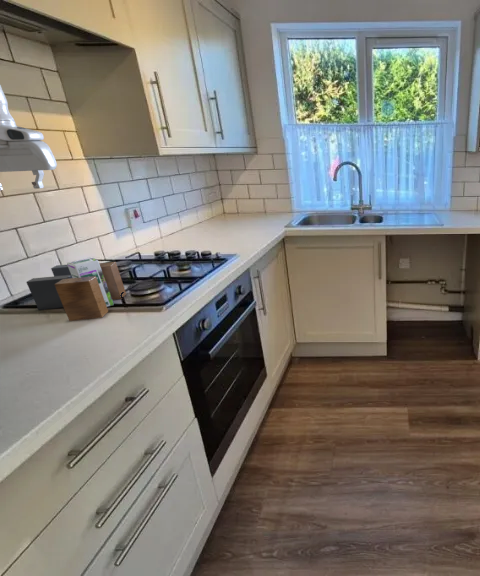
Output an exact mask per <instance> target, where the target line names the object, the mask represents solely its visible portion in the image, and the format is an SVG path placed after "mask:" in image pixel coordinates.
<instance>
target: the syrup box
mask: <svg viewBox="0 0 480 576" xmlns="http://www.w3.org/2000/svg"><path fill="white" fill-rule="evenodd" d="M99 263H100V262H99V260H98V259H97V258H95V257H91V256H89V257H86V258H83V259H78V260H74V261H69V262H66V265H68V268H69V270H70V273H71V275H72V278H81V277H91V276H96V278H97V281H98V283H99V286H100V289H101V292H102V295H103V297H104V300H105V303H106V306H107V308H109V307H111V306H114V300H112V298H111V295H110V293H109V290H108V287H107V284H106V281H105V278H104V276H103V273H102V270H101V267H100V264H99Z"/></svg>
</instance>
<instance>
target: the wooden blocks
mask: <svg viewBox="0 0 480 576" xmlns="http://www.w3.org/2000/svg"><path fill="white" fill-rule="evenodd" d="M99 264H100V267H101V270H102V273H103V276H104V278H105V281H106V284H107V287H108V290H109V293H110V295H111V298H112V301H115V300H122V299H123V298H124V297H125V296H126V295H127V292H126V289H125V286H124V283H123V280H122V277H121V273H120V270H119V268H118V264H117V262H116V261H109V262H108V261H107V262H99ZM54 285H55V287H56V290H57V292H58V294H59V297H60V299H61V302H62V304H63V309H64V311H65V314H66V316H67V319H68V322H75V321H83V320H91V319H100V318H103V317H104V316H106V314H108V313H109V309H108V307H107V306H106V303H105V300H104V297H103V295H102V292H101V289H100V286H99V283H98V281H97V278H96V276H91V277H81V278H70V279H62V280H61V281H59V282H57V283H56V284H54ZM122 292H124V293H123V294H122V297H123V298H121V296H120V295H121V293H122Z"/></svg>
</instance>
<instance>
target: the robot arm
mask: <svg viewBox="0 0 480 576" xmlns="http://www.w3.org/2000/svg"><path fill="white" fill-rule="evenodd" d="M44 139H45V135H44V134H43V133H42V131H38V130H34V129H30V128H27V127H21V126H18V125H17V123H16V120H15V119H14V117H13V116H12V114H11V113H10V110H9V103H8V99H7V97H6V94H5V92H4V90H3V87H2V85H1V84H0V173H9V172H10V173H11V172H31V173H32V175H33V176H35V179H34V181H31V185H32V187H33V189H34V190H35V189H44V183H43V180H44V177H45V172H44V171H52V170H53V171H54V170H55V169H57V167H58V163H57V161H56V158H55V156H54V153H53V151H52V149H51V147H50V146H49V144H48V143H47V142H45V141H44ZM2 190H3V186H2V183H1V182H0V191H2Z"/></svg>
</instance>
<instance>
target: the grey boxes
mask: <svg viewBox="0 0 480 576" xmlns="http://www.w3.org/2000/svg"><path fill="white" fill-rule="evenodd" d="M50 270H51V273H52V275H53V276H44V277H34V278H33V277H32V278H31V279H29V280H27V281H26V282H25V283H26V285H27V288H28V289H29V292H30V294H31V296H32V298H33V301H34V303H35V305H36V307H37V310H38V311H43V310H44V311H45V310H51V309H62V308H63V309H64V307H63V304H62V302H61V299H60V297H59V294H58V292H57V290H56V287H55V285H54V284H56V283H57V282H59V281H61V280H62V279H70V278H72V275H71V273H70V270H69V268H68V265H67V264H58V265H54V266H53V267H51V268H50Z"/></svg>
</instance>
